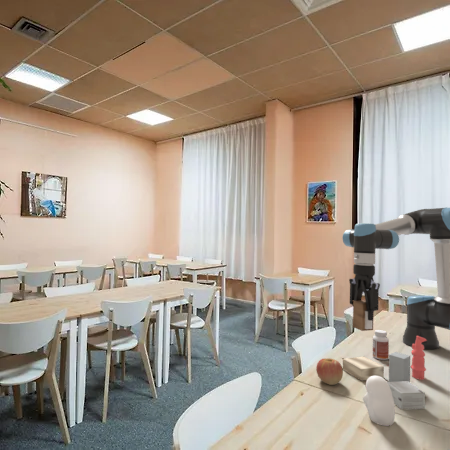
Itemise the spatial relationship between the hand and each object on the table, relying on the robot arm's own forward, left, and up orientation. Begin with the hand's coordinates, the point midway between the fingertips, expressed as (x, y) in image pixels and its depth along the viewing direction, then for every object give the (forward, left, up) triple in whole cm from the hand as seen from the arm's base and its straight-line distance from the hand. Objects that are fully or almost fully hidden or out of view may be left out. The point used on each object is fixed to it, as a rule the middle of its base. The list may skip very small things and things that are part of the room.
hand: (362, 326), depth 126 cm
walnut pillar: (0, 0, -1) cm, 1 cm away
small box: (+3, +22, -18) cm, 28 cm away
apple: (+17, +3, -17) cm, 25 cm away
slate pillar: (-6, +11, -17) cm, 22 cm away
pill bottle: (-19, -11, -17) cm, 28 cm away
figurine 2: (-18, +9, -17) cm, 26 cm away
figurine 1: (+18, +27, -17) cm, 37 cm away
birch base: (0, 0, -17) cm, 17 cm away
